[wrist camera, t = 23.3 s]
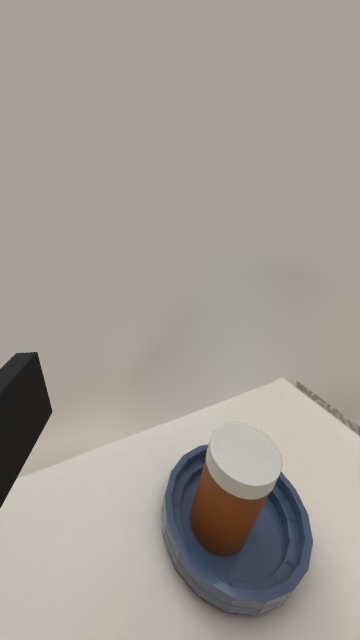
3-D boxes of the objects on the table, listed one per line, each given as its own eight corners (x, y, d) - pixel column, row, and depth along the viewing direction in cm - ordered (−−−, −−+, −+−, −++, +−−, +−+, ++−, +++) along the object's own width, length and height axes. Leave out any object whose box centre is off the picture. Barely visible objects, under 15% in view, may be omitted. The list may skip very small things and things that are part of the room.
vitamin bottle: (177, 528, 28) (196, 455, 23) (206, 480, 33) (227, 411, 28) (234, 574, 25) (270, 502, 20) (256, 515, 30) (289, 445, 25)
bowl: (131, 541, 27) (133, 520, 26) (202, 441, 39) (207, 423, 37) (277, 673, 21) (293, 657, 19) (310, 509, 33) (321, 490, 31)
